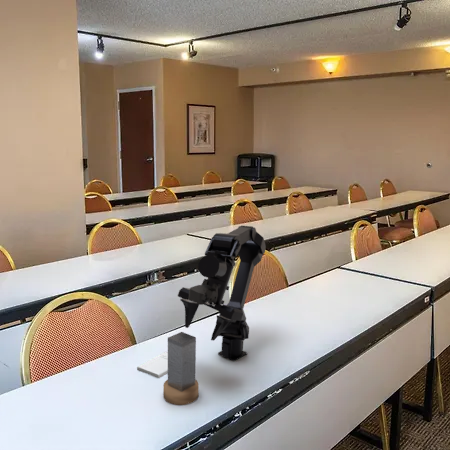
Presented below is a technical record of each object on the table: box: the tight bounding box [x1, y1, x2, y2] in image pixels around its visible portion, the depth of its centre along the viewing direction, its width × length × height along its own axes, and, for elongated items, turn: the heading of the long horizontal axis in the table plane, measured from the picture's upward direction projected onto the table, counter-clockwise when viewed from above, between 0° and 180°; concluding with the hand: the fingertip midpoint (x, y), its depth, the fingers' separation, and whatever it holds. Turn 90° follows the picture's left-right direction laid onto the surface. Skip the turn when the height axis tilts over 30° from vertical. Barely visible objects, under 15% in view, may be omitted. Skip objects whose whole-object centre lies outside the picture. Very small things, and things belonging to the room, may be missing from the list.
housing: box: [167, 331, 197, 392], centre depth 129 cm, size 5×5×13 cm
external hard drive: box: [136, 351, 168, 379], centre depth 147 cm, size 2×8×12 cm
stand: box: [162, 379, 200, 406], centre depth 131 cm, size 9×9×3 cm
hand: (199, 333), depth 138 cm, fingers open, 9 cm apart
